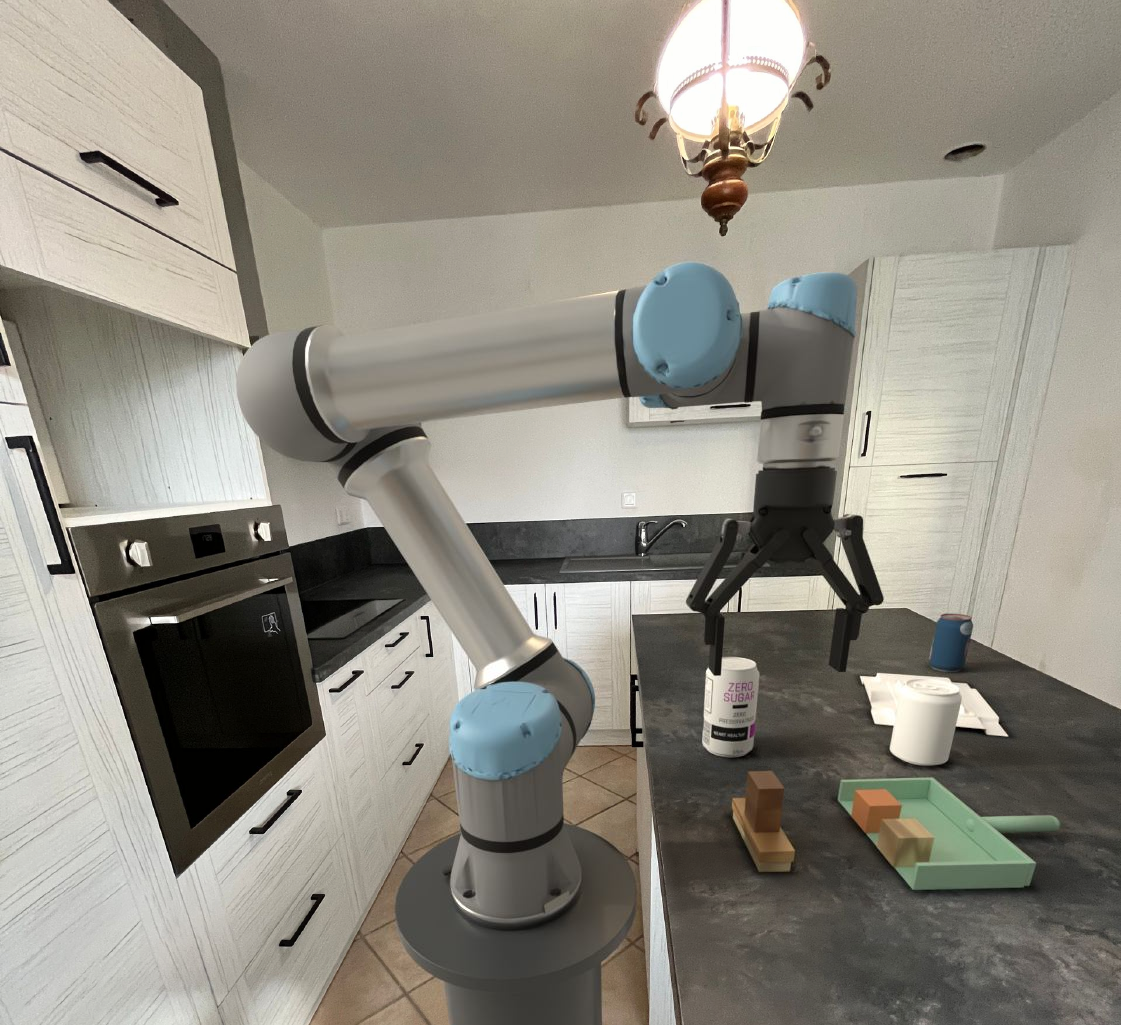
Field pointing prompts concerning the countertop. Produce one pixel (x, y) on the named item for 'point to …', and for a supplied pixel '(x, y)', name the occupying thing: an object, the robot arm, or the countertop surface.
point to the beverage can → (925, 721)
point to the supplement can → (731, 708)
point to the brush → (763, 822)
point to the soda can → (950, 642)
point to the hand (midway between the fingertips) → (775, 670)
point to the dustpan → (956, 837)
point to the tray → (972, 706)
